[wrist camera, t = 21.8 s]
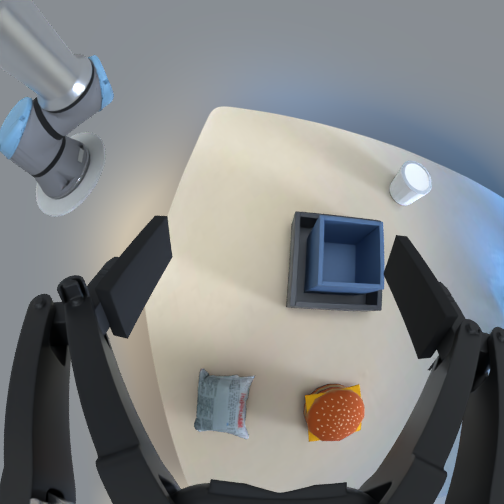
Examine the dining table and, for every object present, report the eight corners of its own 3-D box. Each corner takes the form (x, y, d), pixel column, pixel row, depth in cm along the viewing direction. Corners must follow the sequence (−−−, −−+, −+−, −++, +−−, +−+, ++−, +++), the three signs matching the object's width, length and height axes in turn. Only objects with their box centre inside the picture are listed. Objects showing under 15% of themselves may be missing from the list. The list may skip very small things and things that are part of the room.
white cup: (415, 212, 46) (433, 198, 39) (386, 203, 46) (402, 187, 40) (414, 182, 47) (430, 166, 41) (386, 173, 48) (400, 155, 41)
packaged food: (255, 372, 41) (254, 379, 36) (248, 434, 38) (246, 447, 33) (202, 365, 41) (195, 371, 37) (198, 427, 39) (190, 438, 34)
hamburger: (305, 436, 38) (311, 452, 31) (299, 388, 40) (305, 399, 34) (357, 423, 38) (370, 437, 31) (353, 375, 40) (367, 384, 33)
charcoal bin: (286, 307, 43) (289, 306, 37) (291, 223, 46) (295, 211, 41) (367, 311, 42) (381, 310, 37) (368, 231, 45) (381, 220, 40)
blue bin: (303, 292, 43) (317, 285, 32) (306, 238, 45) (319, 214, 34) (356, 295, 42) (384, 289, 31) (357, 242, 44) (383, 222, 33)
